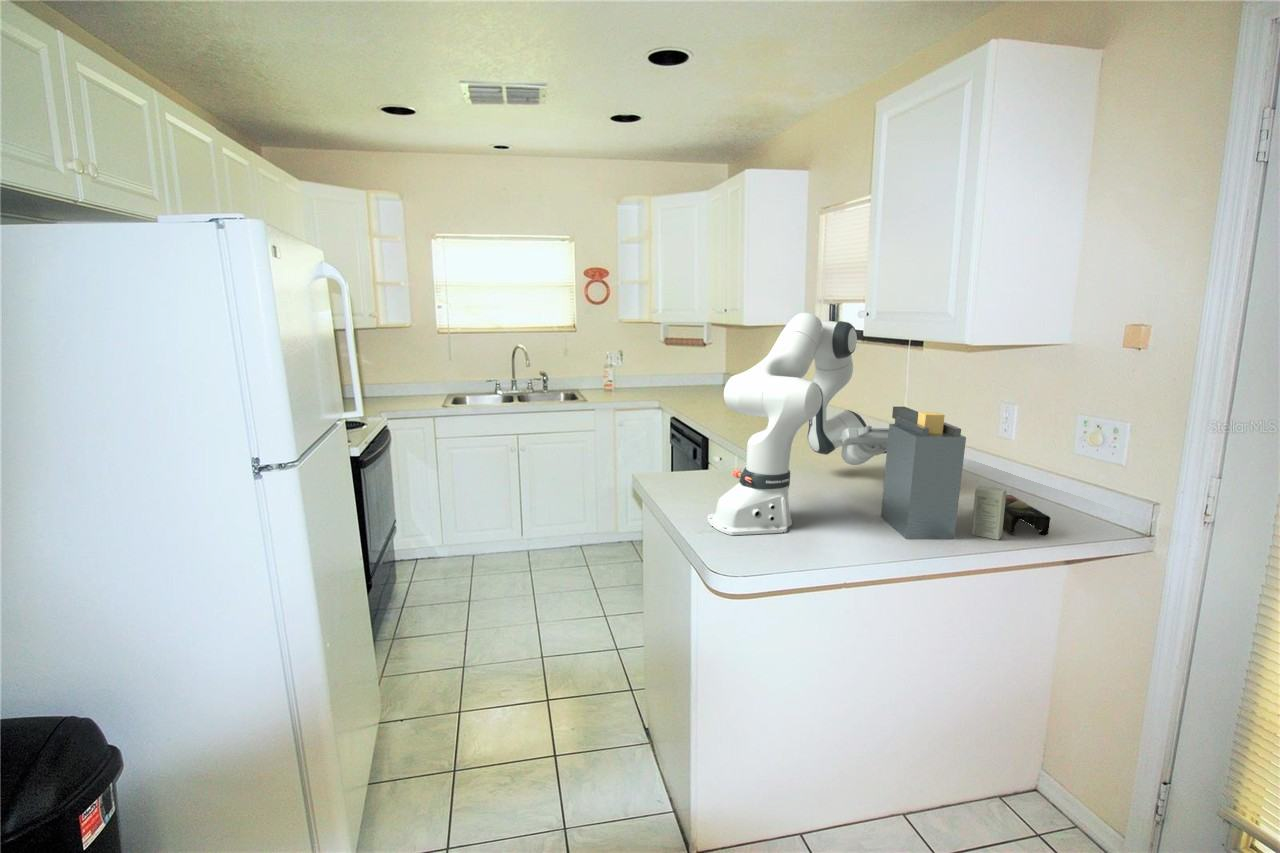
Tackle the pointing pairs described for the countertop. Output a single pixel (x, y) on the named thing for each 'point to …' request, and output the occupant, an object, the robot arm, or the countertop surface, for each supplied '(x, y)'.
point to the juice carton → (1023, 516)
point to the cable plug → (922, 418)
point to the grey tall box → (922, 480)
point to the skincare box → (988, 512)
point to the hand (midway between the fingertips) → (885, 428)
